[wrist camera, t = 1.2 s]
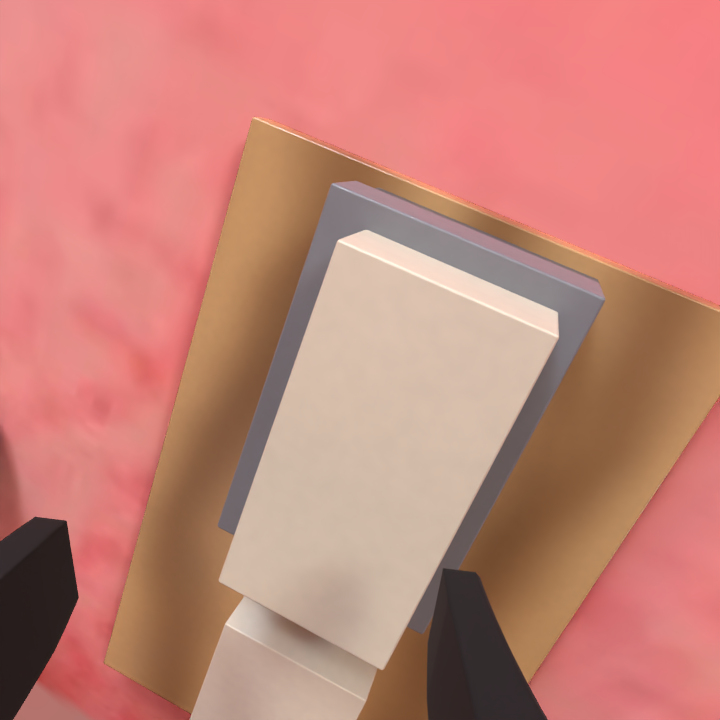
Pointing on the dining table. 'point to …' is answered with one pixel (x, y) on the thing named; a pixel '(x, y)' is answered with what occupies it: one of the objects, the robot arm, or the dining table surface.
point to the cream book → (383, 440)
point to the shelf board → (519, 495)
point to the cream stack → (280, 672)
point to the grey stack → (467, 253)
